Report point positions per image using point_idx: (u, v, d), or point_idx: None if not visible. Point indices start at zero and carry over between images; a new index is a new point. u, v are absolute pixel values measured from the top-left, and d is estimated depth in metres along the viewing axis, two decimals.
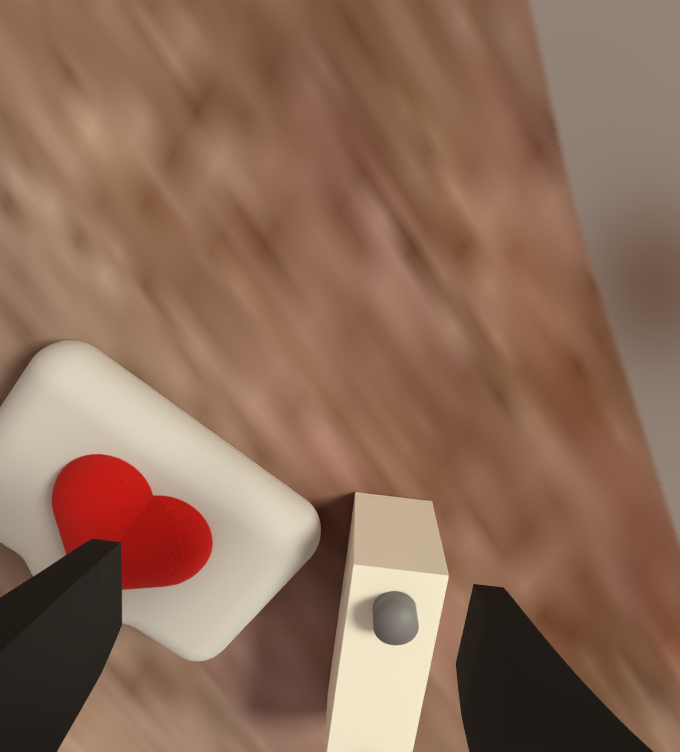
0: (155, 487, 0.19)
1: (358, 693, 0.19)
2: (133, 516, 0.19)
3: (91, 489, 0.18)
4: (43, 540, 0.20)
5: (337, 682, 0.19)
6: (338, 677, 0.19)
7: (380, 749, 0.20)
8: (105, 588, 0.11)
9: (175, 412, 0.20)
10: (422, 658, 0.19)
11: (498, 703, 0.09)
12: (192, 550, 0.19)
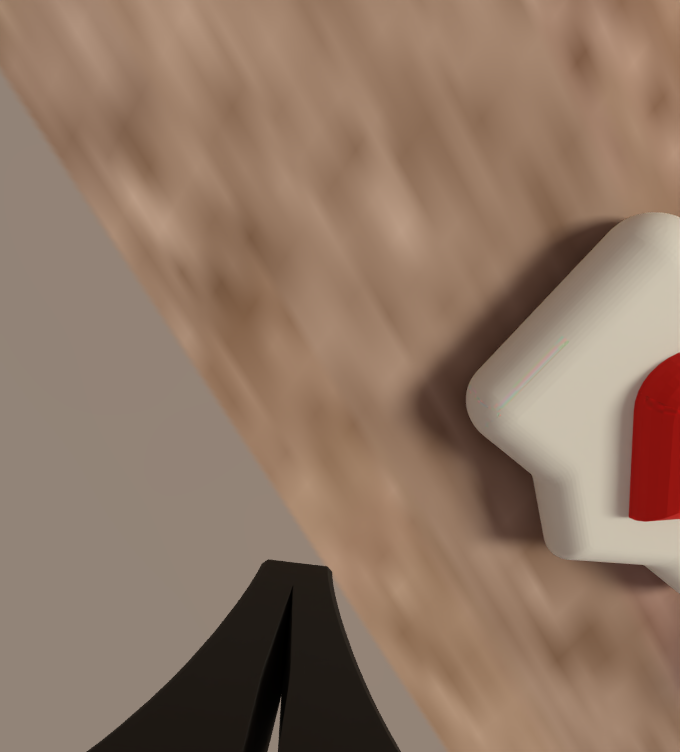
0: None
1: None
2: None
3: None
4: (600, 458, 0.17)
5: None
6: None
7: None
8: None
9: None
10: None
11: (286, 678, 0.09)
12: None
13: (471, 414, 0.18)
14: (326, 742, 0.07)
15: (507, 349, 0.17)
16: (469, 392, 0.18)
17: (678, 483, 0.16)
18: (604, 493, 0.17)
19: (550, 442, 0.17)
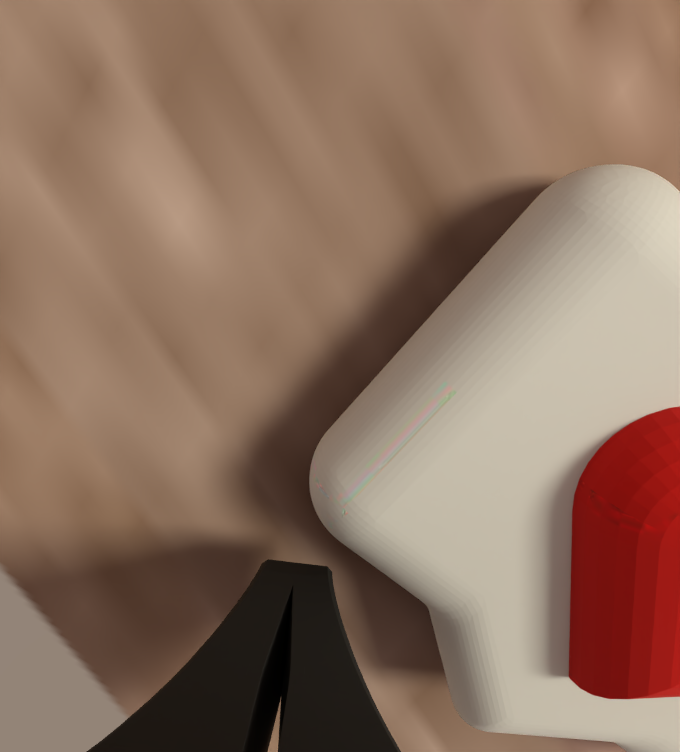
0: None
1: None
2: None
3: None
4: (518, 585, 0.10)
5: None
6: None
7: None
8: None
9: None
10: None
11: (286, 678, 0.09)
12: None
13: None
14: (326, 742, 0.07)
15: (365, 398, 0.10)
16: (311, 466, 0.11)
17: (647, 647, 0.09)
18: (527, 640, 0.10)
19: (433, 559, 0.10)
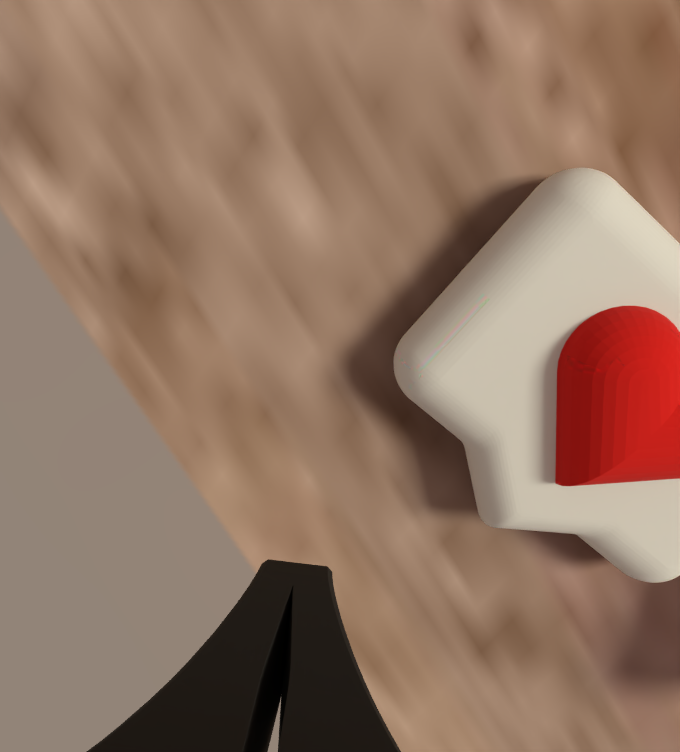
0: None
1: None
2: None
3: (653, 341, 0.14)
4: (524, 421, 0.16)
5: None
6: None
7: None
8: None
9: None
10: None
11: (286, 678, 0.09)
12: None
13: (396, 377, 0.17)
14: (326, 742, 0.07)
15: (431, 310, 0.17)
16: (395, 354, 0.17)
17: (599, 445, 0.15)
18: (530, 458, 0.17)
19: (474, 404, 0.16)
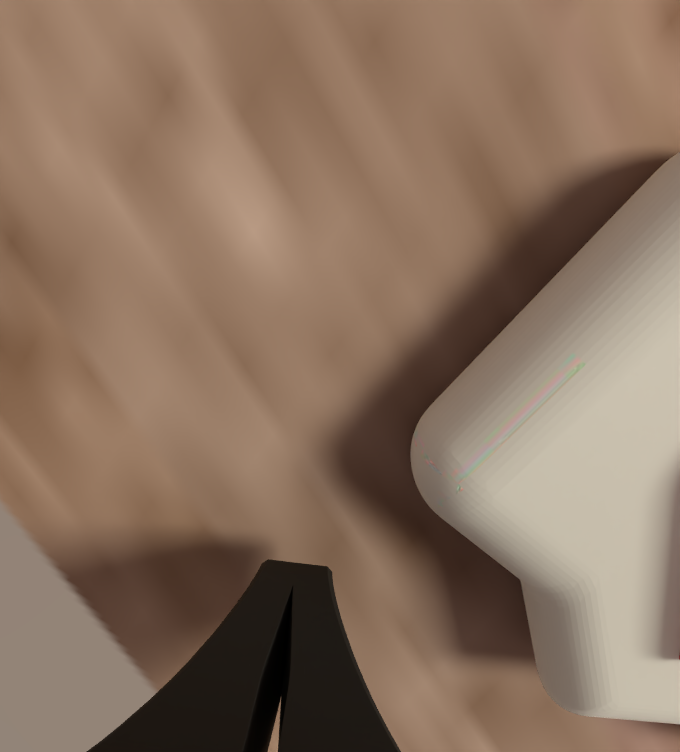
0: None
1: None
2: None
3: None
4: (635, 565, 0.10)
5: None
6: None
7: None
8: None
9: None
10: None
11: (286, 678, 0.09)
12: None
13: (416, 480, 0.10)
14: (326, 742, 0.07)
15: (477, 373, 0.10)
16: (414, 443, 0.11)
17: None
18: (639, 621, 0.10)
19: (550, 536, 0.10)
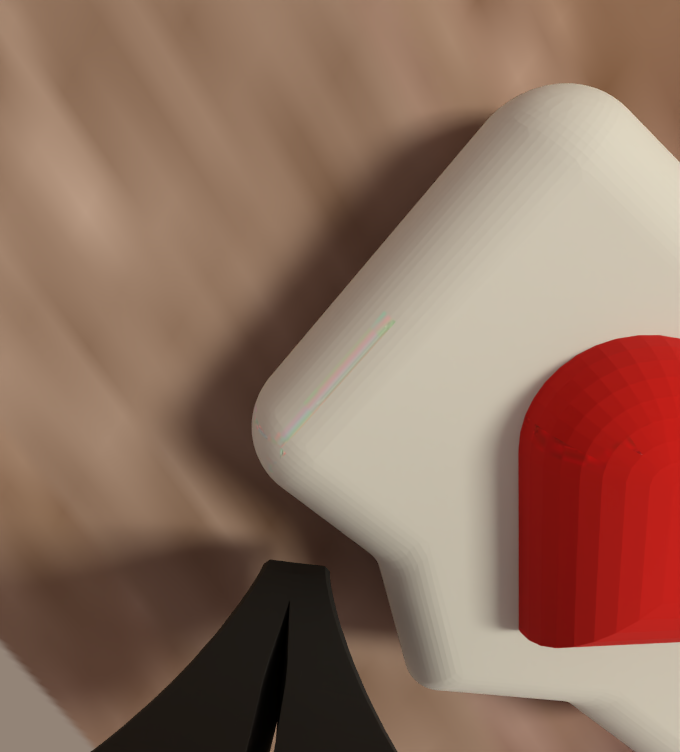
0: None
1: None
2: None
3: None
4: (464, 531, 0.09)
5: None
6: None
7: None
8: None
9: None
10: None
11: (283, 677, 0.09)
12: None
13: None
14: (322, 741, 0.07)
15: (307, 336, 0.10)
16: (253, 410, 0.10)
17: (592, 590, 0.08)
18: (475, 590, 0.10)
19: (375, 503, 0.09)
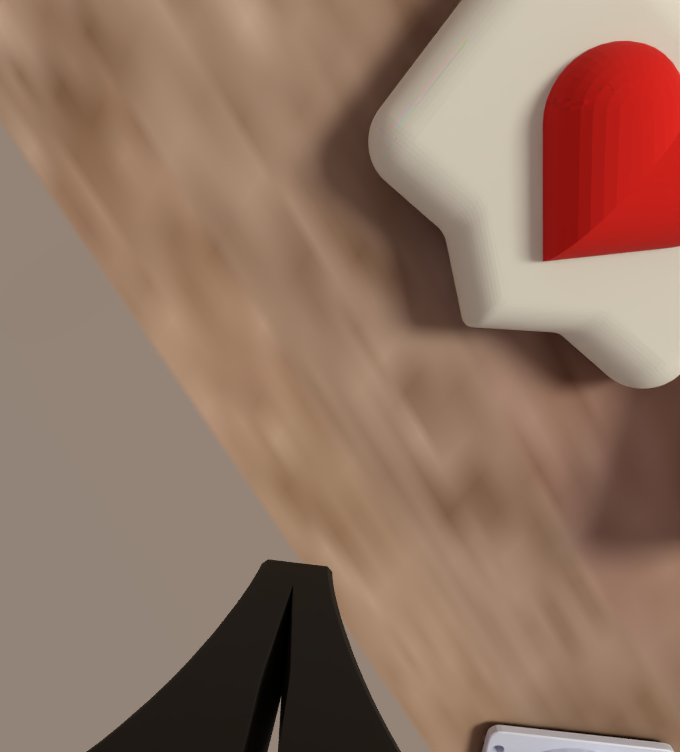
0: None
1: None
2: None
3: (646, 64, 0.13)
4: (508, 187, 0.15)
5: None
6: None
7: None
8: None
9: None
10: None
11: (286, 678, 0.09)
12: None
13: (371, 152, 0.16)
14: (326, 742, 0.07)
15: (407, 71, 0.15)
16: None
17: (588, 194, 0.14)
18: (514, 232, 0.16)
19: (453, 167, 0.15)
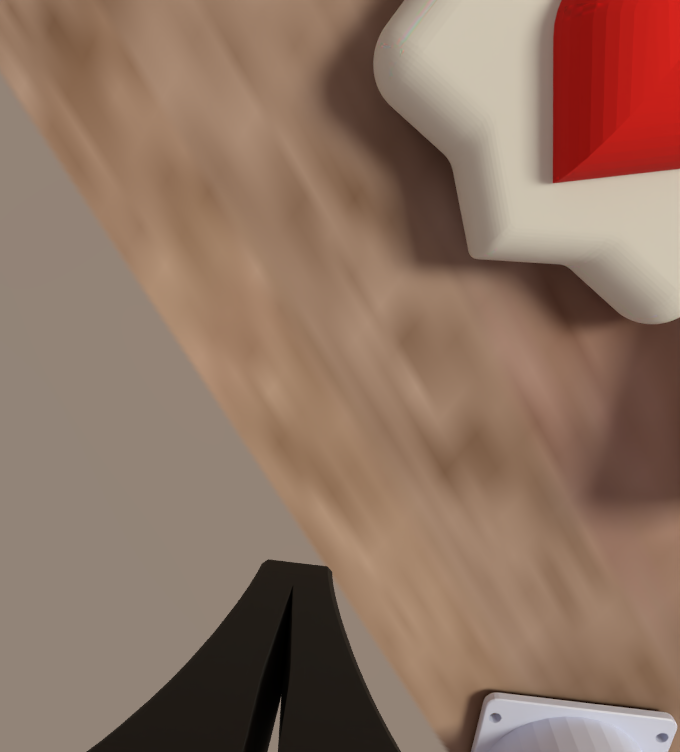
0: None
1: None
2: None
3: None
4: (517, 103, 0.15)
5: None
6: None
7: None
8: None
9: None
10: None
11: (286, 678, 0.09)
12: None
13: (376, 72, 0.16)
14: (326, 742, 0.07)
15: None
16: None
17: (600, 104, 0.14)
18: (524, 151, 0.15)
19: (461, 82, 0.15)
